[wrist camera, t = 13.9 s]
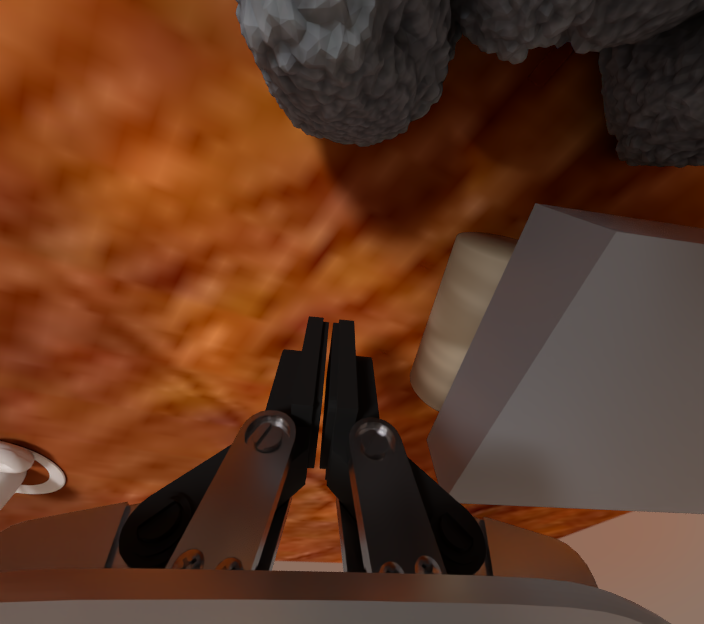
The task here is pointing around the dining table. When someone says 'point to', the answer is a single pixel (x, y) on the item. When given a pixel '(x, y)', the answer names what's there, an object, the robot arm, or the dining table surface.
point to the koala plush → (491, 37)
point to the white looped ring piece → (24, 472)
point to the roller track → (458, 311)
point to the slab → (584, 372)
